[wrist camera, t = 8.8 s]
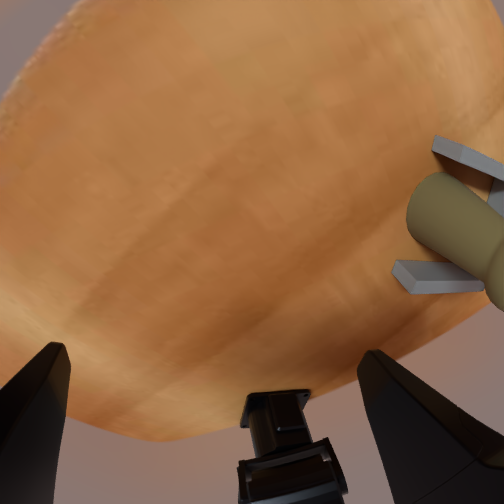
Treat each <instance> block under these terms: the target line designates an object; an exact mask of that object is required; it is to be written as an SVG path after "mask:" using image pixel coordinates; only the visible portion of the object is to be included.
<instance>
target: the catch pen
mask: <svg viewBox="0 0 504 504" xmlns="http://www.w3.org/2000/svg"><path fill="white" fill-rule="evenodd" d="M432 151H434V152H437V153H439V154H442V155H444V156H446V157H449V158H451V159H453V160H455V161H458V162H460V163H463V164H465V165H468V166H470V167H473V168H475V169H477V170H480V171H482V172H485V173H487V174H489V175H491V176H494V177H495V178H494V182H493V185H492V188H491V191H490V195H489V198H488V201H487V204H488V205H490V206H491V207H492V208H493V209H494V210H495V211H497V212H498V213H499V214H500V215H501V216H502V217H503V218H504V165H503V164H502V163H500V162H498V161H496V160H494V159H492V158H490V157H488V156H486V155H484V154H482V153H480V152H478V151H475V150H473V149H471V148H469V147H467V146H465V145H462V144H459V143H457V142H454V141H451V140H449V139H446V138H443V137H440V136H437V135H435V139H434V143H433V147H432ZM391 273H392V274H393V275H394V276H395V277H396V278H397V279H398V281H399V282H400V283H401V284H402V285H403V286H404V287H405V289H406V290H407V291H408V292H409V293H410V294H435V293H458V292H477V291H483V290H484V288H485V286H484V283H483V282H482V281H480V280H479V279H477V278H476V277H474V276H473V275H471V274H470V273H468V272H467V271H465V270H464V269H462V268H461V267H459V266H458V265H456V264H454V263H447V262H428V261H410V260H396V262H395V265H394V267H393V270H392V272H391Z"/></svg>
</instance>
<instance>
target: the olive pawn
mask: <svg viewBox="0 0 504 504" xmlns="http://www.w3.org/2000/svg"><path fill="white" fill-rule="evenodd" d="M406 221H407V227H408V230H409V232H410V234H411V236H412V237H413V238H414V239H416V240H417V241H419V242H420V243H422V244H424V245H425V246H427V247H429V248H430V249H432V250H434V251H435V252H437V253H438V254H440V255H442V256H443V257H445V258H447V259H448V260H450V261H451V262H453V263H454V264H456V265H458V266H459V267H461V268H462V269H464V270H465V271H467V272H468V273H470V274H471V275H473V276H474V277H476V278H477V279H479V280H480V281H482V282H483V283H484V286H485V290H486V294H487V295H488V297H489V299H490V301H491V302H492V303H493V304H494V305H495V306H496V307H497V308H498V309H500V310H502V311H503V312H504V218H503V217H502V216H501V215H500V214H499V213H498V212H497V211H495V210H494V209H493V208H492V207H491V206H490V205H488V204H487V203H486V202H485V201H484V200H483V199H481V198H480V197H479V196H478V195H476V194H475V193H474V192H473V191H471V190H470V189H469V188H468V187H466V186H465V185H464V184H463V183H461V182H460V181H459V180H457V179H456V178H455V177H453V176H452V175H450V174H448V173H445V172H439V173H434V174H432V175H430V176H428V177H426V178H425V179H424V180H423V181H422V182H421V183H420V184H419V185H418V186H417V188H416V189H415V191H414V193H413V194H412V196H411V199H410V202H409V205H408V207H407V217H406Z"/></svg>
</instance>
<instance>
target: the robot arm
mask: <svg viewBox="0 0 504 504" xmlns="http://www.w3.org/2000/svg"><path fill="white" fill-rule="evenodd" d="M70 373H71V363H70V360H69V357H68V354H67V350H66V347H65V345H64V344H63V343H59V342H50V343H48V344H47V345H46V346H45V347H44V348H43V349H42V350H41V351H40V352H39V353H38V354H36V355H35V356H34V357H33V358H32V359H31V360H30V361H29V362H28V363H27V364H26V365H25V366H24V367H23V368H22V369H21V370H20V371H19V372H18V373H17V374H16V375H15V376H14V377H12V378H11V379H10V380H9V381H8V382H7V383H6V384H5V385H4V386H3V387H2V388H1V389H0V504H53V499H54V489H55V480H56V472H57V465H58V458H59V451H60V445H61V439H62V433H63V428H64V423H65V417H66V409H67V398H68V389H69V380H70ZM357 376H358V380H359V384H360V388H361V392H362V397H363V401H364V406H365V410H366V414H367V417H368V420H369V423H370V426H371V429H372V432H373V435H374V438H375V441H376V444H377V447H378V450H379V454H380V456H381V460H382V463H383V466H384V470H385V473H386V476H387V479H388V482H389V486H390V489H391V493H392V496H393V500H394V503H395V504H504V436H503V435H501V434H500V433H498V432H496V431H494V430H493V429H491V428H490V427H488V426H486V425H485V424H483V423H481V422H480V421H478V420H476V419H475V418H474V417H472V416H471V415H469V414H468V413H466V412H465V411H464V410H462V409H461V408H459V407H457V405H455V404H454V403H452V402H451V401H450V400H448V399H447V398H446V397H444V396H443V395H441V394H440V393H439V392H437V391H436V390H435V389H433V388H432V387H430V386H429V385H428V384H426V383H425V382H424V381H422V380H421V379H419V378H418V377H416V376H415V375H414V374H412V373H411V372H410V371H408V370H407V369H406V368H404V367H403V366H401V365H400V364H398V363H397V362H396V361H395V360H393V359H392V358H391V357H389V356H388V355H386V354H385V353H384V352H382V351H381V350H379V349H373V350H368V351H366V353H365V354H364V356H363V358H362V360H361V362H360V363H359V365H358V367H357ZM310 395H311V394H310V391H309V390H296V391H285V392H272V393H255V394H249V395H248V396H247V398H246V402H245V406H244V410H243V413H242V417H241V421H240V427H241V428H250V432H251V437H252V442H253V447H254V451H255V456H256V458H254V459H249V460H240V461H239V467H237V472H238V478H239V493H238V504H344V500H343V497H342V495H345V494H348V488H347V484H346V481H345V477H344V474H343V472H342V469H341V466H340V464H339V462H338V459H337V457H336V455H335V453H334V450H333V448H332V445H331V444H330V441H329V438H328V437H326V438H323V440H320V441H317V442H314V443H313V440H312V437H311V434H310V431H309V428H308V425H307V423H306V419H305V416H304V413H303V411H302V410H303V409H304V406H305V405H306V403H307V401H308V399H309V397H310ZM324 459H326V461H323V460H324Z"/></svg>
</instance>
